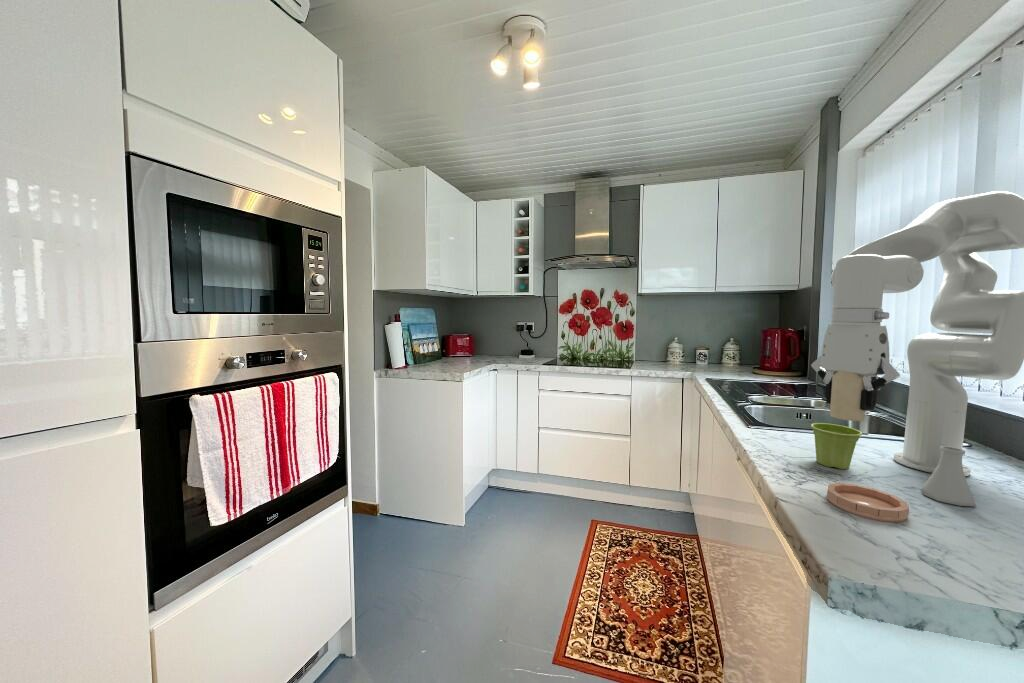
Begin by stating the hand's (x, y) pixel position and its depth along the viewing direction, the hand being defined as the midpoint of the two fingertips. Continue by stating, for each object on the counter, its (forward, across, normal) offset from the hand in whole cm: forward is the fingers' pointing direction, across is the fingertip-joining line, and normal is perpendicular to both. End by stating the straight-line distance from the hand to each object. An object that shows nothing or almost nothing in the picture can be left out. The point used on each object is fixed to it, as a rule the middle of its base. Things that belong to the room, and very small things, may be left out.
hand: (849, 405), depth 83 cm
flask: (+17, -11, -12) cm, 24 cm away
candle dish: (+16, -8, +8) cm, 20 cm away
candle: (+3, 0, 0) cm, 3 cm away
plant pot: (+17, +8, -10) cm, 21 cm away
